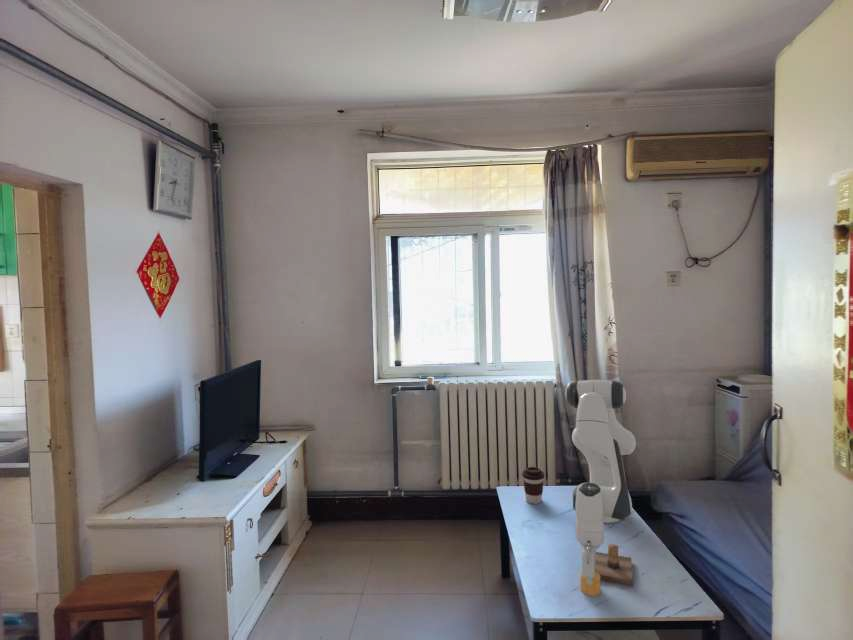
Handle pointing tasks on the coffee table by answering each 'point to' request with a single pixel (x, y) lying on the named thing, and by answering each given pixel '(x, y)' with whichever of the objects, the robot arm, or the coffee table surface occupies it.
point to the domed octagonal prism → (593, 588)
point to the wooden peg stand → (614, 567)
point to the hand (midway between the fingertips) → (589, 574)
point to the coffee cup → (533, 484)
